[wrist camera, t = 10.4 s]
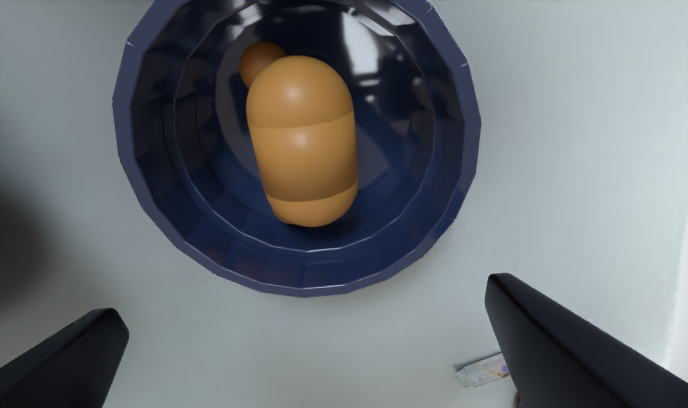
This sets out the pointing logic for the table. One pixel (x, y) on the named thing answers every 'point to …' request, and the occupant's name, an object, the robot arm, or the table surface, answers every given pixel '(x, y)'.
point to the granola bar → (483, 371)
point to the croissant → (301, 134)
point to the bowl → (238, 152)
